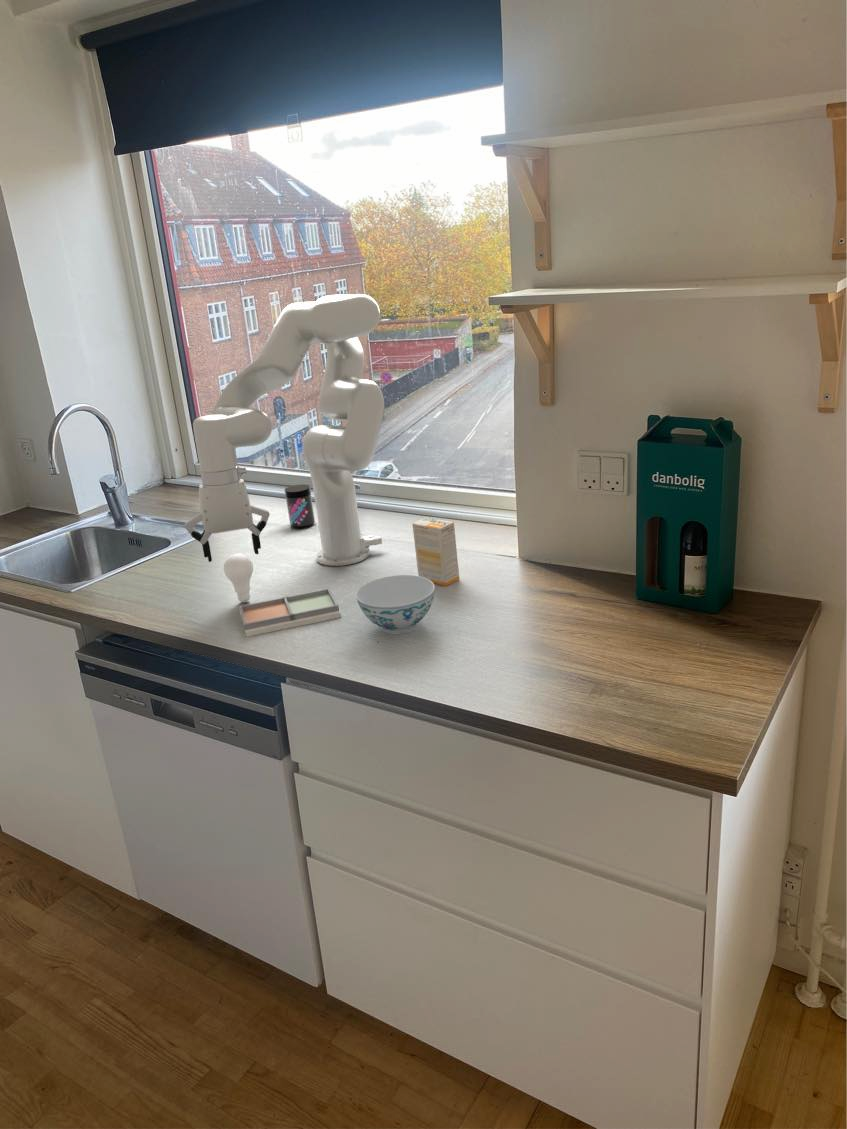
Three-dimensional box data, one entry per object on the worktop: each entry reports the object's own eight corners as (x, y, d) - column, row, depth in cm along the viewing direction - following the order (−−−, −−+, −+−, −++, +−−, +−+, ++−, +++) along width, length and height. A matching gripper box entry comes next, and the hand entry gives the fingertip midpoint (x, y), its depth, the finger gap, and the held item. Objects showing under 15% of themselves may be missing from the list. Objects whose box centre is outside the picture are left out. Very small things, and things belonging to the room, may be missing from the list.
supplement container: (285, 526, 233) (279, 489, 229) (306, 519, 237) (301, 483, 233) (299, 531, 228) (293, 493, 224) (320, 524, 232) (314, 486, 228)
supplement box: (460, 579, 187) (455, 521, 182) (445, 587, 183) (440, 528, 179) (432, 572, 192) (426, 516, 187) (417, 579, 189) (411, 522, 184)
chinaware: (345, 628, 169) (340, 592, 166) (407, 604, 177) (403, 569, 174) (390, 652, 158) (385, 613, 155) (454, 625, 166) (450, 587, 163)
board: (329, 595, 185) (328, 586, 184) (341, 617, 174) (339, 607, 173) (240, 613, 181) (238, 604, 180) (246, 636, 170) (244, 626, 169)
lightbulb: (235, 610, 183) (225, 562, 179) (227, 601, 188) (217, 554, 184) (262, 602, 185) (254, 554, 181) (254, 594, 190) (245, 547, 186)
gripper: (261, 467, 182) (272, 544, 187) (176, 478, 177) (190, 557, 183) (265, 474, 175) (276, 554, 181) (177, 487, 171) (191, 568, 176)
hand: (233, 556), depth 182 cm, fingers open, 9 cm apart
